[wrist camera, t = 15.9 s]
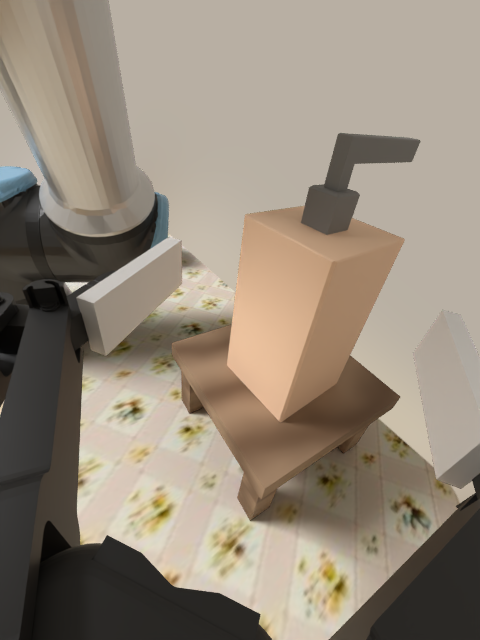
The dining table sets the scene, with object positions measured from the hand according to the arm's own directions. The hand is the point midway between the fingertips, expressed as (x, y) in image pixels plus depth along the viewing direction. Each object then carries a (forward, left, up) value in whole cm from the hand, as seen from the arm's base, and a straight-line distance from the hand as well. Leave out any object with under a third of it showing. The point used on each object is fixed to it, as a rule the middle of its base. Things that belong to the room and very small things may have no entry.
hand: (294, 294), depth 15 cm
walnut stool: (-6, +8, -25) cm, 27 cm away
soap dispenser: (-6, +10, -16) cm, 19 cm away
